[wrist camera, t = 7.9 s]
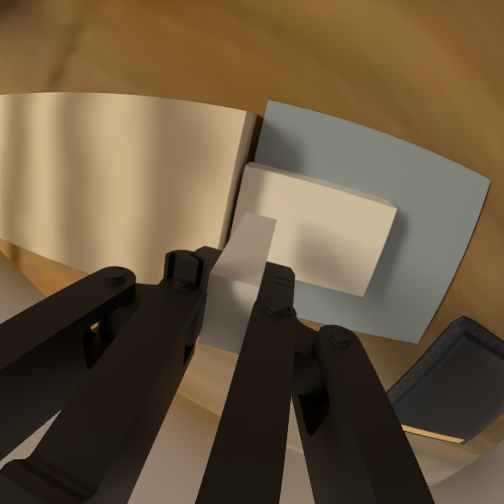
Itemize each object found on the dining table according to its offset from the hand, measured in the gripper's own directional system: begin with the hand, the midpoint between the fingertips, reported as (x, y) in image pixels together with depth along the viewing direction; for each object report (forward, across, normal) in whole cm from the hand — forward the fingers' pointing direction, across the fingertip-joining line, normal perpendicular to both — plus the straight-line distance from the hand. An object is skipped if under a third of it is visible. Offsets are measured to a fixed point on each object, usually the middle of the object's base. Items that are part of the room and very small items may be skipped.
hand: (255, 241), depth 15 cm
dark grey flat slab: (+6, +25, -13) cm, 29 cm away
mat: (+5, +6, 0) cm, 8 cm away
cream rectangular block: (+5, +3, 0) cm, 6 cm away
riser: (+5, -12, 0) cm, 13 cm away
